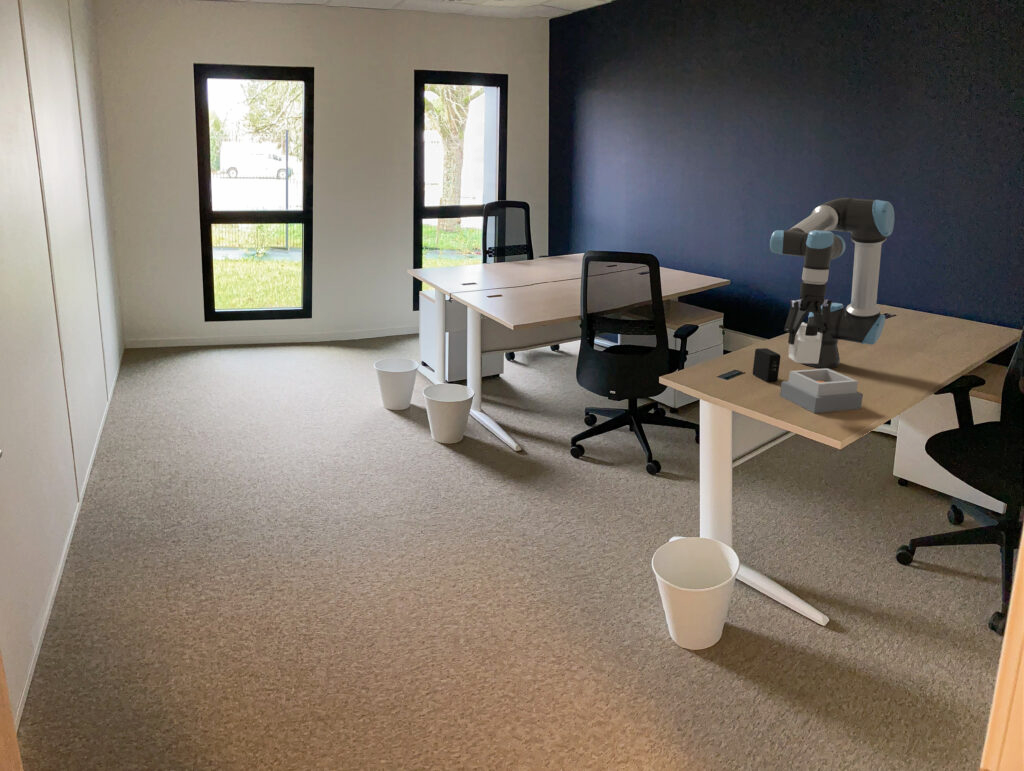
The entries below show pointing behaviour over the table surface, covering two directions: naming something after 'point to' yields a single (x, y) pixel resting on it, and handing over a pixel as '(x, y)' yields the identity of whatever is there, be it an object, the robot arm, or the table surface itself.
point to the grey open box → (821, 390)
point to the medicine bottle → (807, 344)
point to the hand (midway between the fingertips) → (803, 353)
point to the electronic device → (766, 365)
